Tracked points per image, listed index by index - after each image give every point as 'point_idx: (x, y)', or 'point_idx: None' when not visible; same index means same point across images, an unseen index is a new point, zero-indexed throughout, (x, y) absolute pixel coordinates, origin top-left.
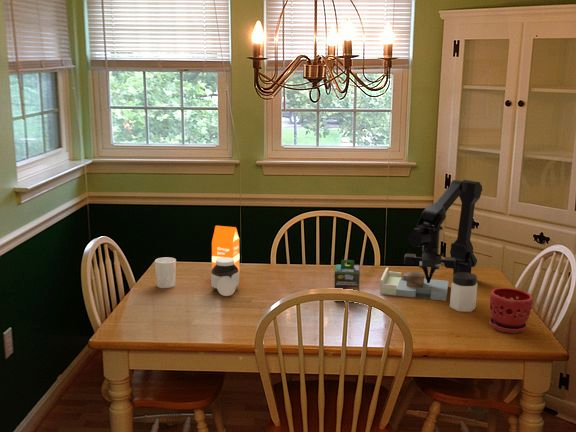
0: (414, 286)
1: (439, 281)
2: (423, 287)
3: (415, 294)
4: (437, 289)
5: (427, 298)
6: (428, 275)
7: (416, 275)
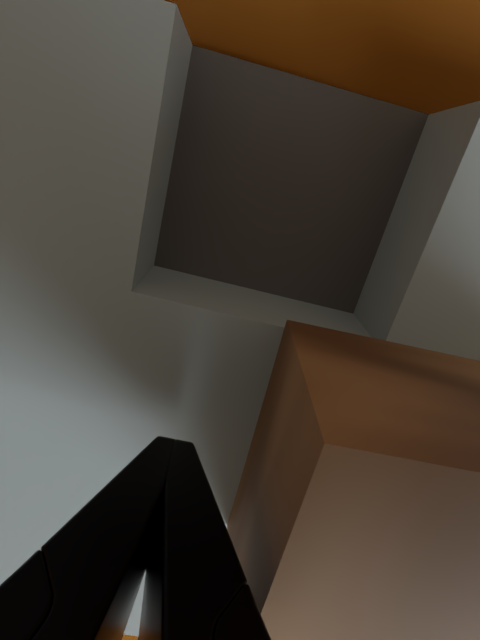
0: (426, 354)
1: (7, 576)
2: (271, 338)
3: (439, 133)
4: (31, 249)
5: (239, 69)
6: (148, 602)
7: (473, 576)
